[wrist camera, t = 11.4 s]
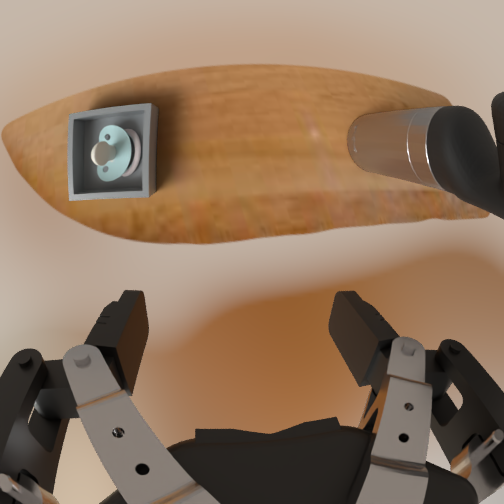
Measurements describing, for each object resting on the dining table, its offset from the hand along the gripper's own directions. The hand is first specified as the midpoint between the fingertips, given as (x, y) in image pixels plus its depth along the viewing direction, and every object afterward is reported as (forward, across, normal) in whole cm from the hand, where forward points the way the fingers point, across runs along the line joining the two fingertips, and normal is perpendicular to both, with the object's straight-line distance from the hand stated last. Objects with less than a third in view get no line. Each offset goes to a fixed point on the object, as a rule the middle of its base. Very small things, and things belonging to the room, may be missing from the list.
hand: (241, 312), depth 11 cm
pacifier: (+27, +14, -6) cm, 31 cm away
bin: (+28, +15, -6) cm, 32 cm away
